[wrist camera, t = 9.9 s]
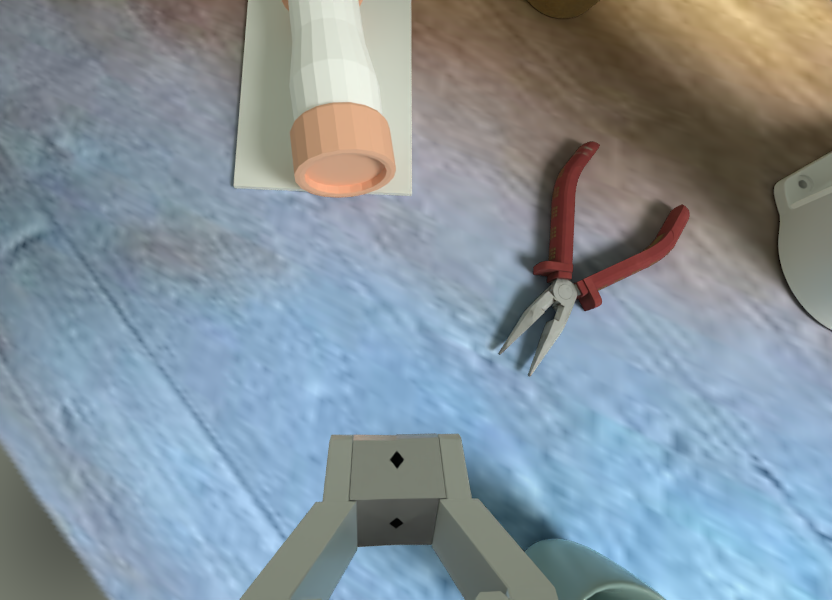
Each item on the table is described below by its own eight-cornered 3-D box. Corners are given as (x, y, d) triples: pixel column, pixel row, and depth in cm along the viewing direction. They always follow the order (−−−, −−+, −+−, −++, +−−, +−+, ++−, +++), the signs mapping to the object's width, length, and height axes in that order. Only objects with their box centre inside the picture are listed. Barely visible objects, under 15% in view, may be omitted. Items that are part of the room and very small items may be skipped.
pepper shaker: (306, 203, 36) (283, -2, 39) (396, 191, 36) (366, -10, 40) (282, 157, 29) (256, -88, 32) (395, 143, 29) (358, -98, 33)
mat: (411, 195, 37) (411, 193, 37) (234, 188, 35) (233, 185, 35) (410, -10, 41) (411, -14, 41) (251, -26, 39) (250, -29, 39)
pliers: (450, 323, 36) (457, 318, 33) (576, 145, 40) (591, 129, 38) (567, 408, 36) (583, 410, 33) (680, 220, 40) (702, 209, 38)
